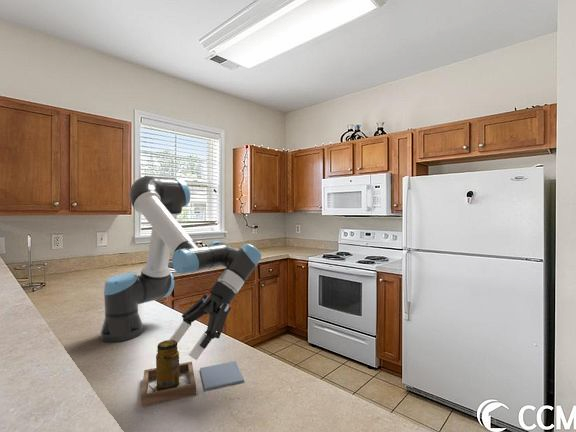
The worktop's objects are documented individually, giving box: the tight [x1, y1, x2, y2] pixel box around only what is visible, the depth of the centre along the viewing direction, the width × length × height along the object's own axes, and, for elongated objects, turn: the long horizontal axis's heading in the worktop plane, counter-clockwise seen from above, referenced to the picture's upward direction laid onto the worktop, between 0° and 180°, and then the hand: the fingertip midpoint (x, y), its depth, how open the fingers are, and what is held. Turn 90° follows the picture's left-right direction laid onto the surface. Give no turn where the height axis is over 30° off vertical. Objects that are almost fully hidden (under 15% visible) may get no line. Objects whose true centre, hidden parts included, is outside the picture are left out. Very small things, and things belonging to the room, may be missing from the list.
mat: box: [199, 361, 245, 391], centre depth 94 cm, size 12×11×1 cm
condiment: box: [149, 339, 187, 392], centre depth 88 cm, size 7×8×12 cm
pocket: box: [140, 361, 197, 408], centre depth 88 cm, size 14×13×2 cm
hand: (181, 349), depth 90 cm, fingers open, 13 cm apart
